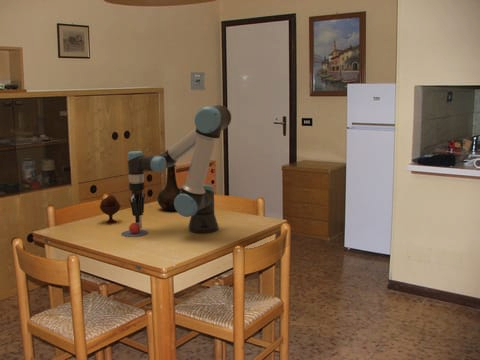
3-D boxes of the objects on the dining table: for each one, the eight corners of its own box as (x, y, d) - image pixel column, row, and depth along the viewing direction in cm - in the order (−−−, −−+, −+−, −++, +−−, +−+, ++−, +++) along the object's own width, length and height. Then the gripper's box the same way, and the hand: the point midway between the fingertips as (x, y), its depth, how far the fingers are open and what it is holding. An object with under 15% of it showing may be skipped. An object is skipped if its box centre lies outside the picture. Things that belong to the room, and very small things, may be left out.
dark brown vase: (183, 213, 325) (181, 164, 320) (153, 212, 328) (151, 164, 323) (192, 206, 342) (190, 160, 337) (163, 205, 346) (161, 160, 341)
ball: (141, 224, 280) (137, 235, 280) (142, 225, 286) (138, 235, 285) (130, 220, 280) (126, 231, 279) (131, 221, 286) (127, 231, 285)
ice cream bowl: (123, 219, 312) (122, 193, 309) (117, 224, 301) (115, 197, 299) (104, 219, 313) (103, 193, 311) (98, 224, 302) (96, 197, 300)
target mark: (153, 232, 285) (153, 232, 285) (133, 238, 275) (133, 238, 274) (135, 228, 292) (135, 228, 292) (115, 234, 282) (115, 234, 282)
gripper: (135, 179, 291) (138, 224, 295) (123, 184, 278) (126, 231, 282) (149, 180, 288) (151, 225, 292) (137, 184, 276) (139, 231, 280)
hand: (138, 228), depth 287 cm, fingers closed
